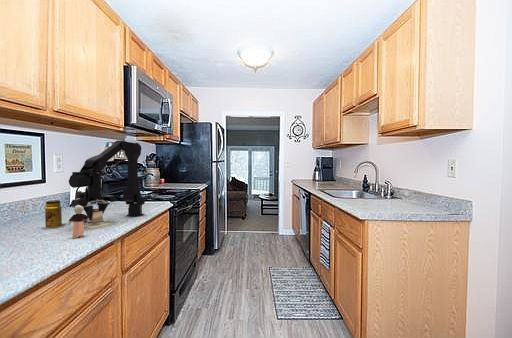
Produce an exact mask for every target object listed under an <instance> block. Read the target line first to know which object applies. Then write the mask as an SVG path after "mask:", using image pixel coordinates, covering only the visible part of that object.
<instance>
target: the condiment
mask: <svg viewBox="0 0 512 338" xmlns="http://www.w3.org/2000/svg"><path fill="white" fill-rule="evenodd" d="M45 206H46V207H45V208H44V213H45V214H44V215H45V216H44V217H45V218H44V220H45V222H44V223H45V224H44V225H45V227H42V230H45V229H58V228H59V229H60V228H62V227H65V226H67V223H68V222H67V223H63V222H62V221H63V219H62V216H63V214H62V205H61V200H59V199H55V200H53V199H51V200H47V201H46V202H45Z"/></svg>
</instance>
